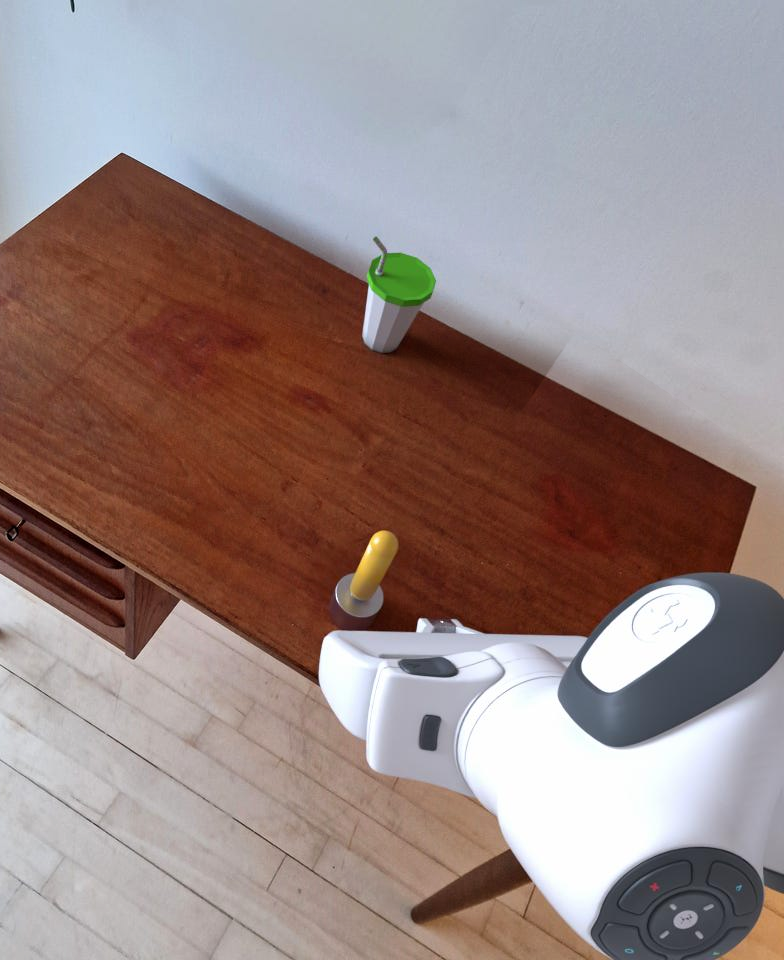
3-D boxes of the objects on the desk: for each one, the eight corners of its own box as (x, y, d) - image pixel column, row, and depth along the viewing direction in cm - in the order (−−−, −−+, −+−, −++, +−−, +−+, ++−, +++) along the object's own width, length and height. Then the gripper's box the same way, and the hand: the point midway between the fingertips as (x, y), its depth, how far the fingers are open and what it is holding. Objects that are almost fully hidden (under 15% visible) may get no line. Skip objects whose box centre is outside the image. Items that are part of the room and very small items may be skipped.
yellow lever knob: (384, 610, 82) (425, 538, 71) (355, 641, 80) (393, 572, 68) (348, 580, 83) (382, 504, 72) (319, 610, 81) (349, 537, 69)
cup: (422, 337, 104) (461, 242, 92) (391, 373, 100) (427, 279, 88) (369, 306, 106) (400, 209, 93) (337, 340, 101) (364, 243, 89)
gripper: (682, 675, 51) (569, 592, 64) (359, 671, 47) (308, 583, 60) (661, 768, 52) (554, 668, 66) (345, 773, 48) (298, 665, 61)
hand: (435, 627), depth 63 cm, fingers closed
